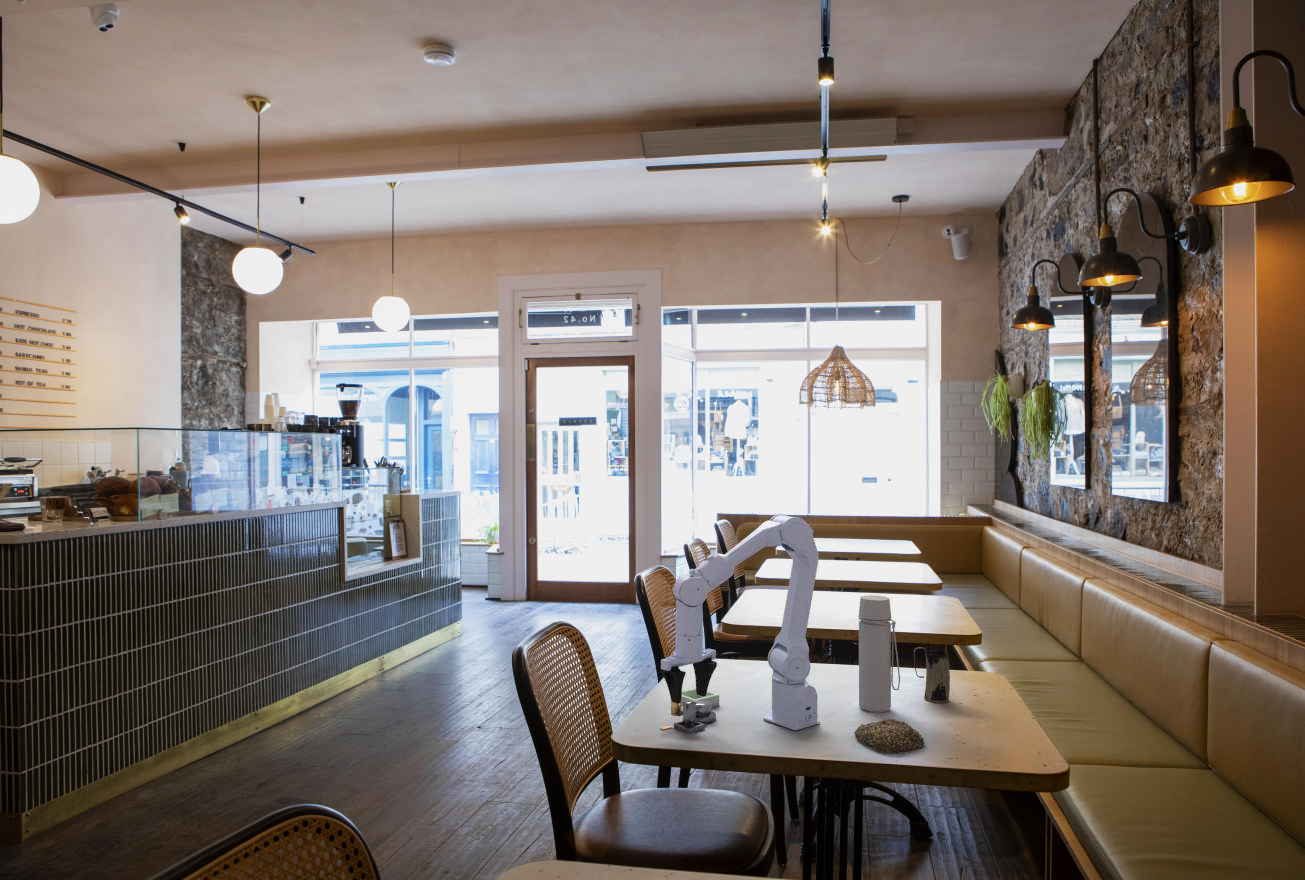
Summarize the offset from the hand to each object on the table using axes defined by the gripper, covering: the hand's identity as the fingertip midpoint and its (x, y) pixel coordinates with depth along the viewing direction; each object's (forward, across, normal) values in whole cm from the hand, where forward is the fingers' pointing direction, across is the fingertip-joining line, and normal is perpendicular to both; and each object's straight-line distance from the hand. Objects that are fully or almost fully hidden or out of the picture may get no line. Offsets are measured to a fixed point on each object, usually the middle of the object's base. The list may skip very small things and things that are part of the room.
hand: (688, 698), depth 177 cm
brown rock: (+7, -24, +33) cm, 41 cm away
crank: (+5, -4, -3) cm, 7 cm away
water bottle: (+6, -41, +20) cm, 46 cm away
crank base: (+6, -3, -2) cm, 7 cm away
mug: (+6, -56, +24) cm, 62 cm away
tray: (+6, -13, -10) cm, 18 cm away
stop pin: (+6, 0, 0) cm, 6 cm away
